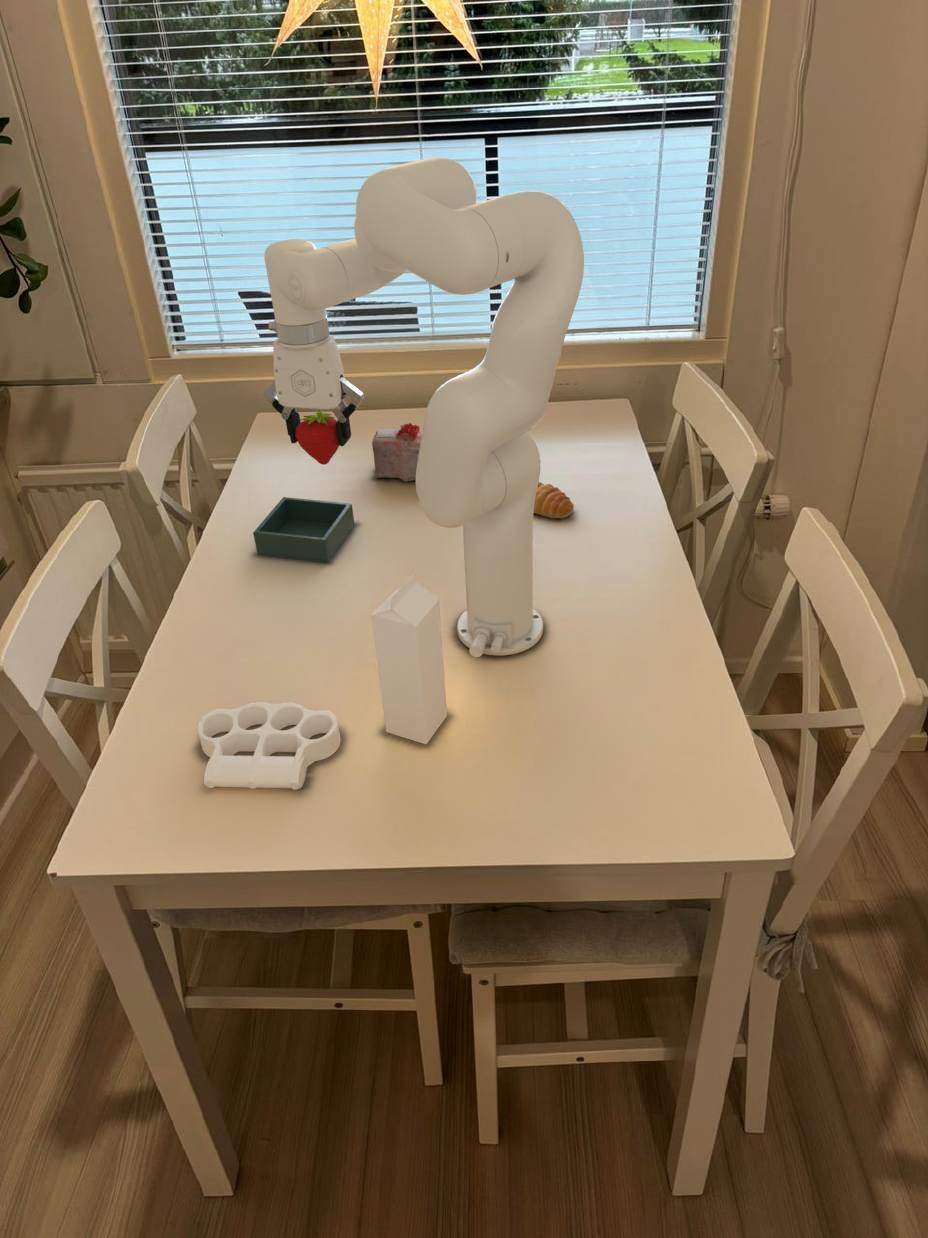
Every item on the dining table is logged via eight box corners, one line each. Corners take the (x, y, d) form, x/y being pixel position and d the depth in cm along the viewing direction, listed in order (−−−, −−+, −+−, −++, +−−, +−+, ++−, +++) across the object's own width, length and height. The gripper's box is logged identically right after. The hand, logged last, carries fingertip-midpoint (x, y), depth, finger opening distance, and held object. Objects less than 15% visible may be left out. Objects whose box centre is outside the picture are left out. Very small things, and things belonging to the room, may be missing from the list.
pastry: (582, 510, 164) (583, 491, 161) (557, 525, 160) (557, 506, 158) (542, 494, 169) (542, 475, 167) (517, 508, 165) (517, 489, 163)
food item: (449, 465, 180) (446, 417, 174) (443, 484, 174) (440, 436, 168) (380, 463, 182) (375, 416, 176) (372, 483, 175) (366, 435, 170)
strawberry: (301, 458, 151) (291, 399, 146) (347, 453, 152) (339, 395, 146) (299, 474, 147) (289, 414, 141) (347, 469, 147) (338, 410, 141)
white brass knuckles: (181, 793, 113) (216, 712, 125) (327, 796, 111) (348, 714, 123) (175, 773, 111) (210, 693, 123) (323, 776, 109) (345, 695, 121)
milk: (386, 733, 120) (366, 593, 107) (408, 704, 124) (392, 566, 111) (427, 745, 118) (412, 604, 105) (449, 715, 122) (437, 576, 109)
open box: (328, 562, 153) (325, 540, 151) (257, 554, 156) (252, 532, 154) (354, 525, 163) (351, 503, 160) (287, 518, 166) (283, 496, 163)
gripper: (238, 337, 136) (260, 448, 146) (349, 340, 132) (364, 454, 142) (259, 320, 142) (279, 428, 152) (367, 323, 138) (380, 434, 148)
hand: (320, 440), depth 147 cm, fingers closed on strawberry, 7 cm apart
